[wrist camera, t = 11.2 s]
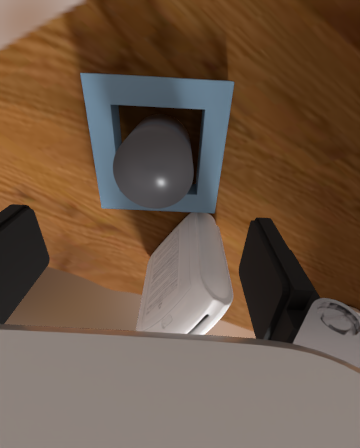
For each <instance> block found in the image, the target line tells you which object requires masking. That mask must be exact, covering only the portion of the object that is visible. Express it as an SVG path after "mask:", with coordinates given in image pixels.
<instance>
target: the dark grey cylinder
mask: <svg viewBox="0 0 360 448" xmlns="http://www.w3.org/2000/svg"><path fill="white" fill-rule="evenodd" d="M113 174H114V178H115V181H116V184H117V186H118V187H119V189H120V191H121V192H122V193H123V194H124V195H125V196H126V197H127V198H128V199H129V200H131V201H132V202H134V203H135V204H138V205H140V206H143V207H146V208H153V209H160V208H166V207H169V206H172V205H174V204H176V203H177V202H179V201H180V200H181V199H182V198H184V196H185V195H186V194H187V193H188V191H189V189H190V187H191V185H192V182H193V176H194V169H193V160H192V151H191V142H190V137H189V134H188V132H187V130H186V128H185V127H184V125H183V124H182V123H181V122H180V121H179V120H177V119H176V118H174V117H172V116H170V115H166V114H154V115H150V116H148V117H146V118H144V119H143V120H142V121H141V122H140V123H139V124H138V125H137V126H136V127H135V129H134V130H133V131H132V132H131V133H130V134H129V136H128V137H127V138H126V139H125V140H124V142H123V143H122V144H121V145H120V146H119V148H118V150H117V151H116V154H115V156H114V160H113Z"/></svg>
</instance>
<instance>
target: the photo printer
mask: <svg viewBox="0 0 360 448" xmlns="http://www.w3.org/2000/svg"><path fill="white" fill-rule="evenodd" d="M232 301H233V289H232V285H231V280H230V275H229V271H228V266H227V261H226V257H225V252H224V247H223V243H222V238H221V234H220V230H219V227H218V226H217V225H216V223H215V220H214V218H213V217H212V216H211V215H210V214H208V213H196V212H191V213H190V214H189V215H188V216H186V217H185V218H184V219H183V220H182V221H181V222H180V224H178V226H177V227H176V228H175V229H174V230H173V231H172V232H171V233H170V234H169V235H168V236H167V238H166V239H165V240H164V241H163V242H162V243H161V244H160V245H159V246H158V248H157V249H156V250H155V251H154V253H153V254H152V255H151V257H150V259H149V262H148V266H147V271H146V277H145V283H144V288H143V294H142V299H141V305H140V310H139V315H138V321H137V326H136V331H146V332H163V333H181V334H198V335H204V334H205V333H207V332H208V331H209V330H210V329H211V328H212V327H213V326H214V325H215V324H216V323H217V322H218V321H219V320H220V319H221V317H222V316H223V315H224V314H225V312H226V311H227V309H228V308H229V306H230V305H231V303H232Z"/></svg>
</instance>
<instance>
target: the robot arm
mask: <svg viewBox="0 0 360 448" xmlns="http://www.w3.org/2000/svg"><path fill="white" fill-rule="evenodd" d="M48 264H49V255H48V252H47V248H46V245H45V242H44V239H43V236H42V233H41V230H40V227H39V224H38V221H37V218H36V215H35V212H34V210H33V209H30V207H29V206H27V205H15V204H12V205H10V206H8V207H7V208H5V209H4V210H3V211H1V212H0V448H360V311H359V310H358V309H356V308H353V307H350V306H347V305H345V304H344V303H341V302H339V301H337V300H333V299H329V298H320V297H319V295H318V293H317V292H316V290H315V288H314V287H313V285H312V283H311V282H310V280H309V279H308V277H307V275H306V274H305V272H304V270H303V269H302V267H301V265H300V264H299V262H298V260H297V259H296V257H295V255H294V254H293V252H292V251H291V250H289V248H288V246H287V245H286V243H285V241H284V240H283V238H282V236H281V235H280V233H279V231H278V230H277V228H276V226H275V225H274V223H273V221H272V220H271V219H270V218H256V219H255V221H251V222H250V226H249V230H248V234H247V238H246V242H245V246H244V250H243V254H242V258H241V262H240V266H239V276H240V280H241V284H242V287H243V291H244V295H245V299H246V302H247V306H248V310H249V314H250V317H251V321H252V325H253V329H254V333H255V336H256V339H253V338H241V337H240V338H239V337H227V336H213V335H198V334H181V333H163V332H146V331H128V330H109V329H89V328H70V327H50V326H31V325H30V326H29V325H9V324H4V323H5V322H6V321H7V319H8V318H9V317H10V315H11V314H12V313H13V311H14V310H15V308H16V307H17V306H18V305H19V303H20V302H21V300H22V299H23V298H24V296H25V295H26V294H27V292H28V291H29V290H30V288H31V287H32V286H33V284H34V283H35V282H36V280H37V279H38V278H39V276H40V275H41V274H42V272H43V271H44V270H45V268H46V267H47V266H48Z"/></svg>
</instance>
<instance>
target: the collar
mask: <svg viewBox="0 0 360 448" xmlns="http://www.w3.org/2000/svg"><path fill="white" fill-rule="evenodd" d="M80 75H81V81H82V87H83V94H84V100H85V106H86V112H87V119H88V125H89V131H90V138H91V144H92V150H93V156H94V163H95V169H96V175H97V182H98V188H99V194H100V200H101V207H102V208H108V209H130V210H152V211H174V212H196V213H215V207H216V200H217V194H218V187H219V181H220V174H221V167H222V161H223V154H224V147H225V141H226V134H227V128H228V121H229V114H230V108H231V101H232V94H233V88H234V82H233V81H226V80H208V79H190V78H172V77H155V76H137V75H119V74H102V73H80ZM118 105H129V106H148V107H166V108H185V109H202V120H201V131H200V142H199V153H198V164H197V175H196V184H192V185H191V187H190V189H189V191H188V193H187V194H186V195H185V196H184V198H182V199H181V200H180V201H179V202H177V203H176V204H174V205H172V206H169V207H166V208H160V209H153V208H146V207H143V206H140V205H138V204H135V203H134V202H132V201H131V200H129V199H128V198H127V197H126V196H125V195H124V194H123V193H122V192H121V191H120V189H119V187H118V186H117V184H116V181H115V178H114V174H113V160H114V156H115V154H116V151H117V150H118V148H119V146H120V145H121V144H122V140H121V129H120V118H119V107H118Z"/></svg>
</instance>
